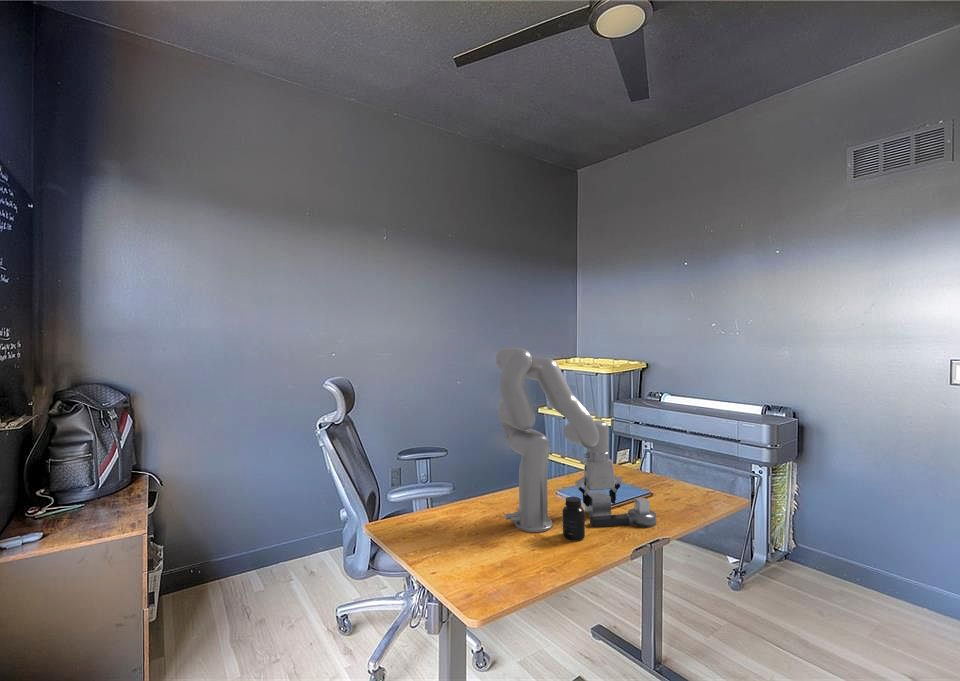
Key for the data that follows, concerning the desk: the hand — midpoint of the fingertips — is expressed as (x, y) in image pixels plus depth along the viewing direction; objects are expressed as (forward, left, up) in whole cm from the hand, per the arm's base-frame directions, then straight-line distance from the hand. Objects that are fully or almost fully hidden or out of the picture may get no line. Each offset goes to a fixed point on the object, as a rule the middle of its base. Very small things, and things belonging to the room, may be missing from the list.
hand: (599, 503), depth 163 cm
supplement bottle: (-16, -16, -4) cm, 23 cm away
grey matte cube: (-1, 0, -4) cm, 4 cm away
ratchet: (+4, -9, -4) cm, 11 cm away
